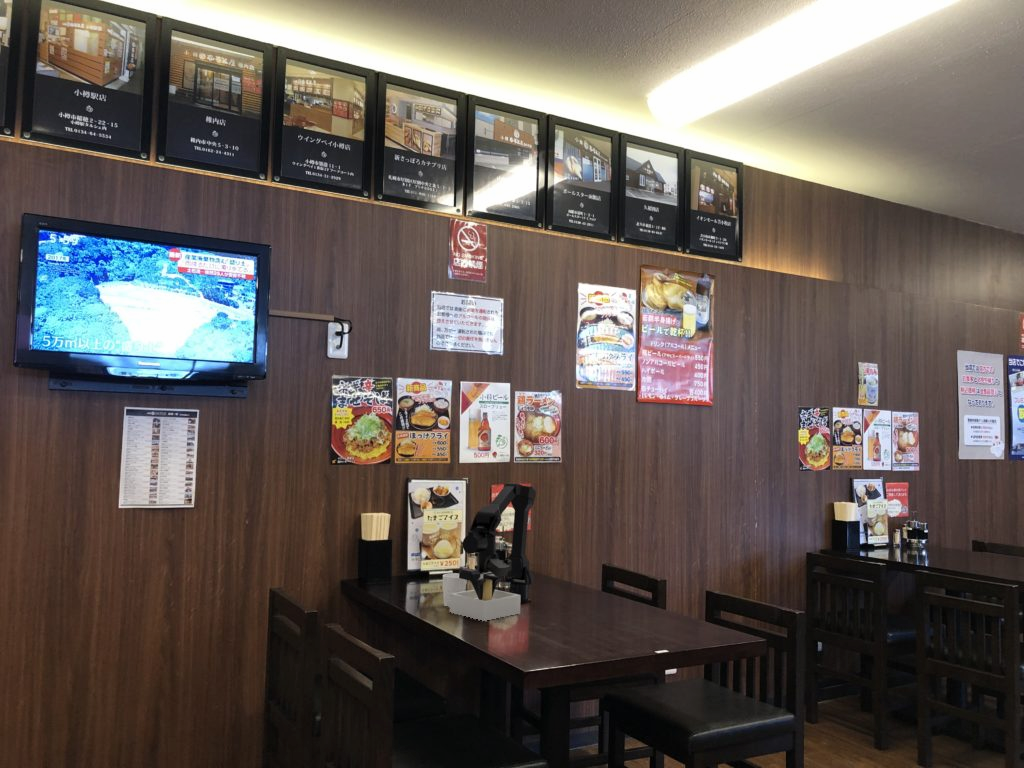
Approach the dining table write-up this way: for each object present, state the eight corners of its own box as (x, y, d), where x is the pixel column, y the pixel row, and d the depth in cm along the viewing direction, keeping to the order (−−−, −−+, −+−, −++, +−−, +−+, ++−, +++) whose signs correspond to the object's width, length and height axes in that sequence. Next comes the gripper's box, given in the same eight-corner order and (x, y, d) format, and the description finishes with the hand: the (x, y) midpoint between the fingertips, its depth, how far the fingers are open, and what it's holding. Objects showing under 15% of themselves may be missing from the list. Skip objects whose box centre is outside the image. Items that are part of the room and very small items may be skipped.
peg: (485, 603, 260) (486, 578, 261) (494, 605, 258) (494, 580, 258) (476, 605, 258) (477, 580, 258) (485, 607, 255) (485, 582, 255)
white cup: (437, 606, 266) (438, 575, 267) (450, 602, 273) (450, 572, 274) (457, 609, 263) (458, 578, 263) (470, 605, 270) (470, 574, 270)
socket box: (485, 605, 269) (486, 587, 269) (520, 614, 258) (520, 595, 258) (449, 612, 257) (450, 593, 258) (484, 621, 246) (484, 601, 246)
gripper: (482, 555, 246) (481, 607, 245) (524, 550, 260) (523, 599, 259) (458, 551, 254) (457, 601, 253) (500, 546, 267) (499, 593, 267)
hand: (485, 599), depth 258 cm, fingers closed on peg, 4 cm apart
